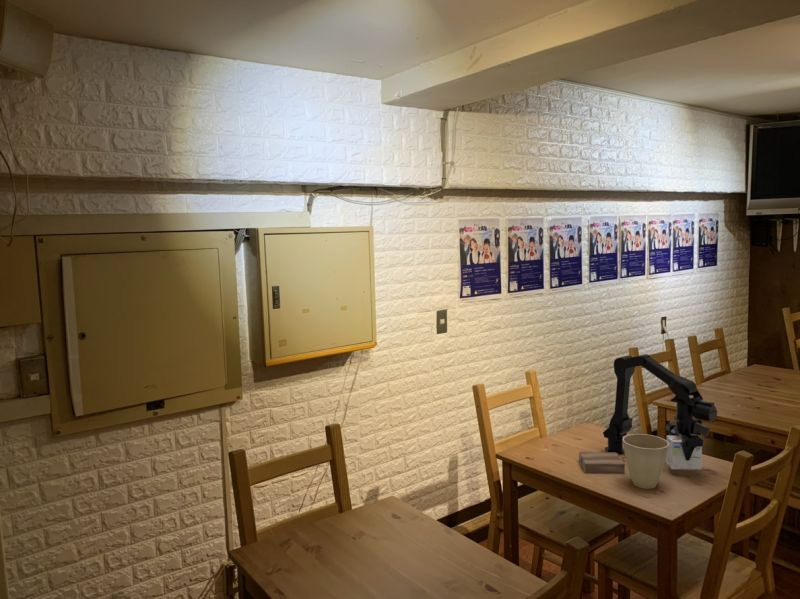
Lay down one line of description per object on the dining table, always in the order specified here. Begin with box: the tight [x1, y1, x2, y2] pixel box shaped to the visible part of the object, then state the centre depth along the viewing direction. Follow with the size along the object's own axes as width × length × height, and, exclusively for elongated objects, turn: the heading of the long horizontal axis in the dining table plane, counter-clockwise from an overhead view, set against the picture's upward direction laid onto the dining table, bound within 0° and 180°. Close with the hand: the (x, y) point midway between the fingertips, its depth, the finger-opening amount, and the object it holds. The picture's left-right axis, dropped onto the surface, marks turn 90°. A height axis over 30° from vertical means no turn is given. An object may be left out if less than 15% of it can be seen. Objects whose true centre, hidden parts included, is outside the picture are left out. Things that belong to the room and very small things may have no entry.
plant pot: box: [623, 433, 669, 490], centre depth 212 cm, size 15×15×16 cm
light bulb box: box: [665, 434, 703, 470], centre depth 221 cm, size 11×7×11 cm, turn 85°
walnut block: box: [578, 451, 626, 475], centre depth 229 cm, size 12×14×4 cm
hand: (683, 456), depth 221 cm, fingers closed on light bulb box, 7 cm apart
